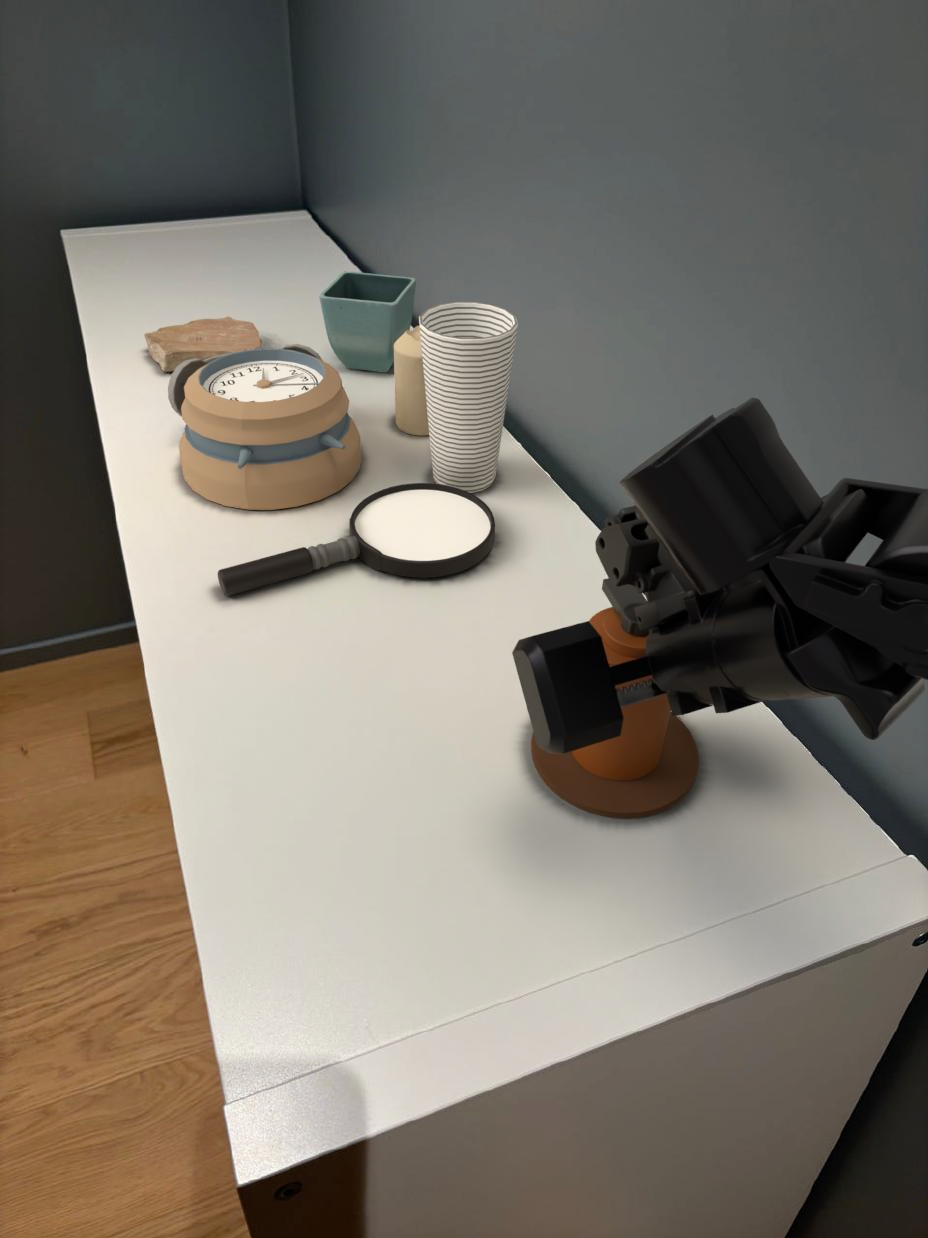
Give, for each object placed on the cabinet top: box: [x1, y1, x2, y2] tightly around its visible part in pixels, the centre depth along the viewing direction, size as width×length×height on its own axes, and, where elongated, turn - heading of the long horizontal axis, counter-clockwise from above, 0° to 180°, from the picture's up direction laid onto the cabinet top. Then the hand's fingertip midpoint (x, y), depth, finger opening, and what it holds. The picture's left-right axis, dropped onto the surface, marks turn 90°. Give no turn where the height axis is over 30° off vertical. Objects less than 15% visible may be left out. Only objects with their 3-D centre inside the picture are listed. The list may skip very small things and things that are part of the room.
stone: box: [143, 316, 263, 372], centre depth 107 cm, size 13×12×3 cm
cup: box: [418, 301, 519, 494], centre depth 83 cm, size 8×8×16 cm
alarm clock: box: [167, 343, 362, 511], centre depth 89 cm, size 17×9×23 cm
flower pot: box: [318, 271, 417, 373], centre depth 105 cm, size 9×9×9 cm
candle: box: [393, 325, 429, 436], centre depth 93 cm, size 6×6×10 cm
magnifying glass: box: [217, 482, 496, 597], centre depth 77 cm, size 12×24×2 cm, turn 119°
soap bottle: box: [571, 577, 671, 781], centre depth 58 cm, size 7×6×11 cm
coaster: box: [530, 712, 700, 819], centre depth 61 cm, size 11×11×1 cm
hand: (615, 666), depth 58 cm, fingers open, 9 cm apart
